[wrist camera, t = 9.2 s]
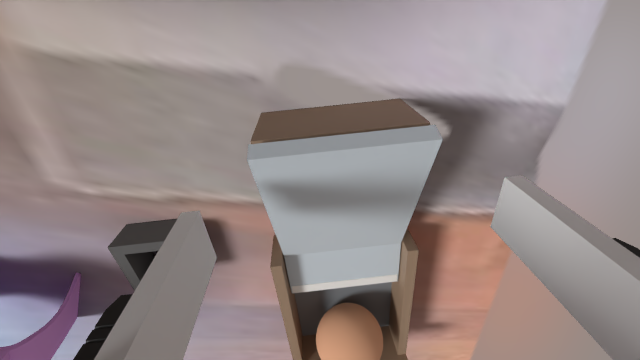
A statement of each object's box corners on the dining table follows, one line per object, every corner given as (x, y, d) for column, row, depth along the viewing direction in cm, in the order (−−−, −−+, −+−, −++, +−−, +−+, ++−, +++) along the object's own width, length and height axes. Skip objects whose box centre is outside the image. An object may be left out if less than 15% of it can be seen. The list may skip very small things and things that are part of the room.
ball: (314, 309, 29) (320, 378, 27) (310, 303, 24) (318, 389, 21) (371, 302, 30) (383, 370, 27) (380, 295, 24) (396, 379, 21)
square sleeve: (126, 224, 22) (107, 247, 20) (186, 217, 22) (174, 240, 20) (149, 266, 24) (135, 291, 22) (203, 260, 24) (194, 284, 22)
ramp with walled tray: (247, 113, 18) (225, 154, 13) (413, 95, 18) (463, 129, 13) (296, 338, 31) (296, 408, 25) (394, 326, 31) (415, 393, 25)
